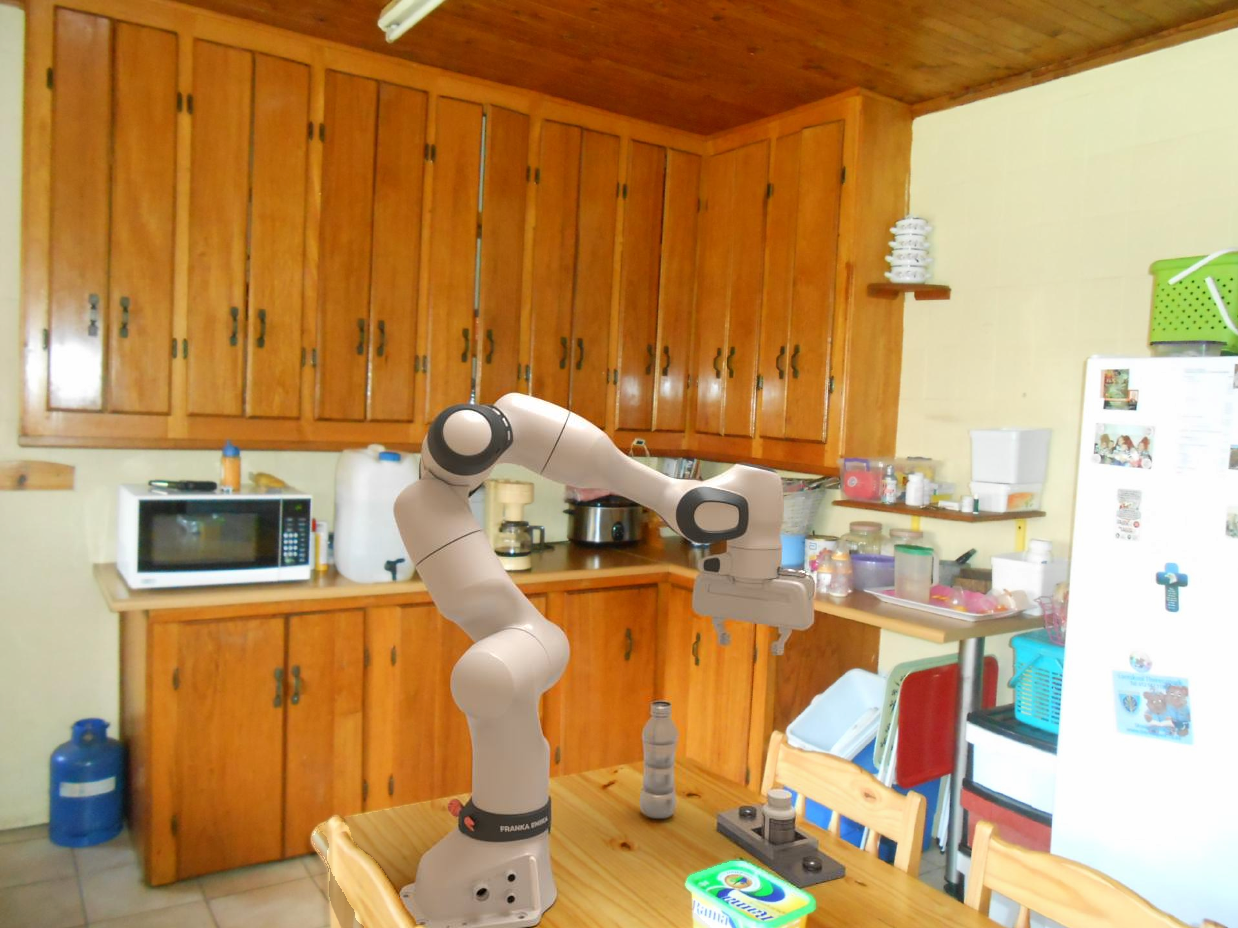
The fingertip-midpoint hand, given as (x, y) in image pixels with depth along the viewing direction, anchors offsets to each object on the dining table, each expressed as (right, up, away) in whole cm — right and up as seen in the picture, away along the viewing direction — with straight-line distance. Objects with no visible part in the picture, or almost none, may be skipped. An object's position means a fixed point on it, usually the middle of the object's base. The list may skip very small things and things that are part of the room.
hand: (750, 649), depth 151 cm
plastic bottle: (-14, -32, +14) cm, 38 cm away
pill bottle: (+5, -34, +1) cm, 34 cm away
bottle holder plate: (+5, -33, +1) cm, 34 cm away
